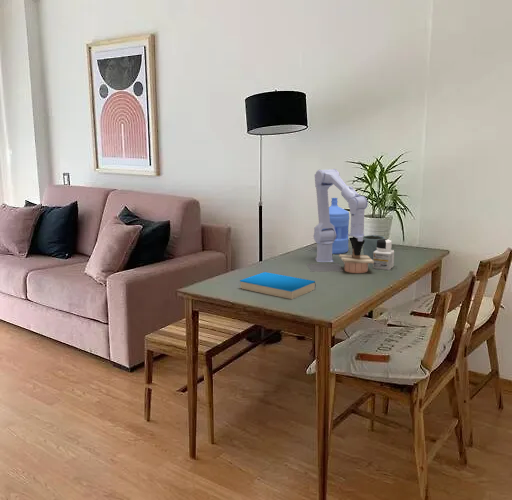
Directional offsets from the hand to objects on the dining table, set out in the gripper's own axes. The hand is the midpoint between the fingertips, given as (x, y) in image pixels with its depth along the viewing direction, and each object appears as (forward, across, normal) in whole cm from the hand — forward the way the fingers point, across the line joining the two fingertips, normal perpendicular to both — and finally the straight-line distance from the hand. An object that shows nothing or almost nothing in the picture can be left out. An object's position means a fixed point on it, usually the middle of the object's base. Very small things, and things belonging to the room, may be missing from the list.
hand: (356, 254), depth 235 cm
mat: (+8, -6, -13) cm, 16 cm away
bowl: (+8, 0, 0) cm, 8 cm away
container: (+8, -7, +14) cm, 18 cm away
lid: (+2, 0, 0) cm, 2 cm away
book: (+8, +26, -36) cm, 46 cm away
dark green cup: (+8, -19, +12) cm, 24 cm away
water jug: (+8, -44, -3) cm, 45 cm away
